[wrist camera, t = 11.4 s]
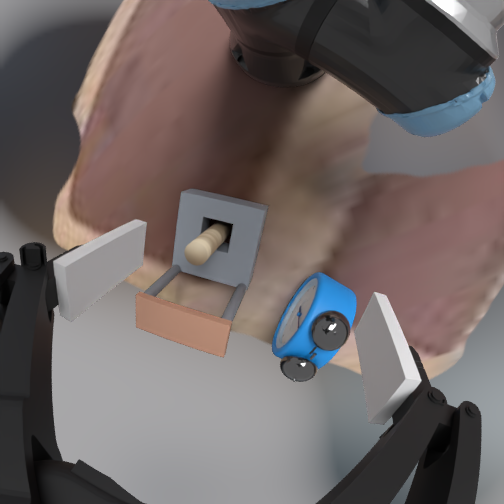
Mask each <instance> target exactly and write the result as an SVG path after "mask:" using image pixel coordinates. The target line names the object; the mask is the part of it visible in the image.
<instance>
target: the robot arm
mask: <svg viewBox="0 0 504 504" xmlns="http://www.w3.org/2000/svg"><path fill="white" fill-rule="evenodd" d="M208 1H210V2H211V4H213V5H214V6H215V8H216V9H217V11H218V12H219V14H220V15H221V16H222V18H223V19H224V21H225V22H226V24H227V25H228V27H229V28H230V30H231V32H230V49H231V52H232V55H233V57H234V59H235V61H236V62H237V64H238V65H239V66H240V68H241V69H242V70H243V71H244V72H245V73H246V74H247V75H248V76H250V77H251V78H253V79H255V80H256V81H258V82H261V83H263V84H266V85H270V86H275V87H295V86H300V85H304V84H307V83H309V82H312V81H314V80H315V79H317V78H319V77H320V76H321V75H322V74H324V73H325V72H326V73H327V74H329V75H331V76H332V77H334V78H335V79H337V80H338V81H340V82H341V83H343V84H344V85H346V86H347V87H349V88H350V89H352V90H353V91H355V92H356V93H357V94H359V95H360V96H362V97H363V98H364V99H366V100H367V101H368V102H370V103H371V104H372V105H374V106H375V107H376V109H377V111H378V112H379V113H381V114H382V115H384V116H386V117H389V118H391V119H392V120H393V121H394V122H396V123H397V124H398V125H399V126H401V127H402V128H403V129H405V130H406V131H407V132H409V133H411V134H413V135H418V136H422V137H432V136H437V135H441V134H444V133H447V132H449V131H451V130H453V129H455V128H457V127H459V126H460V125H462V124H463V123H465V122H466V121H468V120H469V119H470V118H472V117H473V116H474V115H475V114H476V113H478V112H479V110H480V109H481V108H482V103H483V102H485V101H487V100H489V98H490V97H491V95H492V93H493V91H494V87H495V77H494V74H493V71H492V69H491V67H490V65H491V64H492V63H493V62H494V61H495V60H497V58H498V56H499V53H498V45H497V38H496V36H497V30H498V29H499V28H500V27H501V26H502V25H503V24H504V0H208ZM146 225H147V222H144V221H140V220H137V219H135V220H133V221H131V222H129V223H127V224H124V225H122V226H120V227H118V228H116V229H114V230H112V231H110V232H108V233H106V234H104V235H102V236H100V237H98V238H96V239H94V240H92V241H90V242H88V243H86V244H84V245H80V246H76V247H74V248H72V249H70V250H69V251H66V252H64V253H63V254H60V255H59V256H57V257H55V258H53V259H51V260H50V261H48V262H47V258H46V246H45V245H43V244H42V243H37V242H36V243H35V242H33V243H28V244H25V245H23V246H22V247H21V248H20V249H19V250H20V259H21V265H16V264H14V257H13V255H12V254H11V253H8V252H0V504H145V503H142V502H140V501H139V500H138V499H136V498H135V497H134V496H132V495H131V494H130V493H128V492H127V491H126V490H124V489H123V488H122V487H121V486H120V485H118V484H117V483H116V482H115V481H114V480H112V479H111V478H110V477H108V476H106V475H104V474H102V473H101V472H99V471H97V470H95V469H94V468H92V467H91V466H89V465H87V464H86V463H84V462H83V461H81V460H78V461H77V463H76V464H73V463H69V462H65V461H63V460H62V457H61V454H60V451H59V449H58V446H57V442H56V436H55V428H54V418H53V404H52V378H51V377H52V370H51V369H52V366H51V365H52V338H53V323H54V311H53V308H55V307H56V306H57V305H59V311H60V315H61V316H62V317H64V318H65V319H67V320H69V321H71V322H72V321H74V320H75V319H76V318H77V317H78V316H80V315H81V314H82V313H83V312H84V311H86V310H87V309H88V308H89V307H90V306H92V305H93V304H94V303H95V302H97V301H98V300H99V299H100V298H101V297H103V296H104V295H105V294H106V293H108V292H109V291H110V290H111V289H113V288H114V287H115V286H117V285H118V284H119V283H120V282H122V281H123V280H124V279H125V278H127V277H128V276H129V275H131V274H132V273H133V272H134V271H136V270H137V269H138V268H140V267H141V266H142V265H143V255H144V244H145V234H146ZM354 333H355V339H356V344H357V349H358V355H359V360H360V366H361V372H362V378H363V384H364V391H365V398H366V405H367V412H368V421H369V423H373V424H383V425H384V424H385V423H386V422H387V421H388V420H389V419H390V418H391V417H392V418H393V424H392V425H391V426H390V427H389V428H388V429H387V431H385V432H384V433H383V434H382V435H381V436H380V440H379V441H378V442H377V443H376V444H375V445H374V447H373V448H372V449H371V450H370V452H368V453H367V454H366V456H365V457H364V458H363V459H362V460H361V461H360V462H359V463H358V464H357V465H356V466H355V467H354V469H352V470H351V472H350V473H349V474H348V475H347V476H346V477H345V478H343V479H342V480H341V481H340V482H339V483H338V484H337V485H336V486H335V487H334V488H333V489H332V490H331V491H330V492H329V493H328V494H327V495H325V496H324V497H323V498H322V499H321V500H319V501H318V502H317V503H316V504H390V503H391V501H392V500H393V499H394V497H395V496H396V494H397V493H398V492H399V490H400V489H401V487H402V486H403V484H404V483H405V482H406V480H407V479H408V477H409V475H410V474H411V472H412V471H413V469H414V468H415V466H416V464H417V463H418V466H417V469H416V473H415V476H414V479H413V482H412V485H411V488H410V491H409V493H408V496H407V499H406V502H405V504H475V499H476V493H477V486H478V478H479V470H480V455H481V413H480V411H479V409H478V407H477V406H476V405H475V404H473V403H472V402H469V401H464V402H463V403H461V405H460V406H459V407H458V408H456V407H453V406H450V405H448V404H447V400H446V397H445V396H444V394H443V393H442V392H441V391H440V390H438V389H436V388H435V387H431V385H430V382H429V380H428V377H427V374H426V372H425V369H423V368H424V367H423V364H422V363H421V360H420V357H419V355H418V353H417V352H416V351H415V349H414V348H413V347H412V346H408V344H407V342H406V339H405V337H404V334H403V332H402V330H401V327H400V325H399V323H398V321H397V318H396V316H395V314H394V312H393V309H392V307H391V305H390V303H389V301H388V299H387V296H386V295H383V294H380V293H377V292H374V293H373V295H372V297H371V299H370V301H369V304H368V306H367V308H366V310H365V312H364V314H363V316H362V318H361V320H360V321H359V323H358V325H357V327H356V329H355V331H354ZM418 461H419V462H418Z"/></svg>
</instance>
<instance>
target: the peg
mask: <svg viewBox="0 0 504 504" xmlns="http://www.w3.org/2000/svg"><path fill="white" fill-rule="evenodd" d="M232 229H233V228H232V224H231V223H227V222H223V221H219V220H218V221H217V222H216V223H215V224H213V225H212V226H211V227H209V228H208V229H207V230H206V231H204V232H203V233H202V234H201V235H199V236H198V237H197V238H196V239H194V240H193V241H192V242H191V243H189V244H188V245H187V246H186V248H185V251H184V254H185V257H186V259H187V261H188V262H189V263H191V264H192V265H196V266H199V265H202V264H204V263H205V262H206V260H207V259H208V258H209V257H210V256H211V255H212V254H213V253H214V252H215V250H216V249H217V248H218V247H219V246H220V245H221V244H222V243H223V242H224V241H225V240H226V238H227V237H228V236H229V235H230V234H231V233H232Z"/></svg>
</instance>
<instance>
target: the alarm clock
mask: <svg viewBox="0 0 504 504" xmlns="http://www.w3.org/2000/svg"><path fill="white" fill-rule="evenodd" d="M356 305H357V304H356V296H355V294H354V292H353V291H352V290H350V289H349V288H347V287H345V286H344V285H342V284H340V283H338V282H337V281H335V280H333V279H332V278H330V277H328V276H327V275H325V274H323V273H321V272H317V273H314V274H313V275H311V276H310V277H309V278H308V279H307V280H306V281H305V282H304V283H303V284H302V285H301V287H300V288H299V289H298V291H297V292H296V293H295V295H294V296H293V298H292V300H291V301H290V303H289V304H288V306H287V308H286V310H285V312H284V313H283V315H282V317H281V320H280V322H279V324H278V326H277V329H276V331H275V334H274V337H273V341H272V351H273V354H274V355H275V356H277V357H279V358H281V362H280V368H281V371H282V373H283V374H284V375H285V376H286V377H287V378H289V379H291V380H293V381H294V382H295V381H298V382H303V381H308V380H310V379H312V378H313V377H314V376H315V375H316V373H317V370H318V369H319V368H321V367H323V366H324V365H325V364H326V363H328V362H329V361H330V360H331V359H332V358H333V357H334V355H335V354H336V353H337V352H338V350H339V349H340V348H341V347H342V346H343V345H344V344H345V343H346V342H347V340H348V338H349V335H350V329H351V327H352V324H353V321H354V317H355V313H356Z"/></svg>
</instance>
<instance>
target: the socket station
mask: <svg viewBox="0 0 504 504" xmlns="http://www.w3.org/2000/svg"><path fill="white" fill-rule="evenodd" d="M267 211H268V206H267V205H263V204H259V203H255V202H251V201H247V200H242V199H238V198H234V197H229V196H225V195H220V194H216V193H211V192H207V191H202V190H197V189H188V190H185V191H182V192H181V198H180V205H179V212H178V220H177V228H176V236H175V244H174V254H173V263H172V267H171V268H170V269H169V270H168V271H167V272H166V273H165V274H164V275H162V276H161V277H160V278H159V279H158V280H157V281H156V282H155V283H154V284H152V285H151V286H150V287H149V288H148V289H147V290H146V291H145V292H144V293H143V292H139V293H138V294H136V327H137V328H139V329H142V330H144V331H147V332H150V333H152V334H155V335H158V336H160V337H163V338H166V339H169V340H172V341H174V342H177V343H180V344H183V345H186V346H188V347H192V348H195V349H197V350H201V351H204V352H207V353H210V354H213V355H217V356H220V357H224V355H225V353H226V348H227V343H228V339H229V334H230V329H231V325H232V321H233V319H234V317H235V315H236V312H237V310H238V308H239V305H240V303H241V301H242V298H243V296H244V294H245V291H246V290H247V289H248V287H249V284H250V282H251V280H252V276H253V271H254V267H255V263H256V258H257V254H258V250H259V246H260V241H261V237H262V233H263V228H264V224H265V219H266V215H267ZM211 219H215V220H219V221H223V222H227V223H232V224H233V229H232V234H231V239H230V244H228V243H224V242H223V243H222V244H221V245H220V246H219V247H218V248H217V249H216V250H215V252H214V253H213V254H212V255H211V256H210V257H209V258H208V259H207V260H206V262H205V263H204V264H202V265H199V266H196V265H192V264H191V263H189V262H188V261H187V259H186V257H185V254H184V251H185V248H186V246H187V245H188V244H189V243H191V242H192V241H193V240H194V239H196V238H197V237H198V236H199V235H201V234H202V233H203V232H204V231H206V230H207V229H208V228H209V226H210V220H211ZM181 271H182V272H185V273H189V274H192V275H195V276H199V277H202V278H206V279H209V280H213V281H216V282H220V283H223V284H227V285H230V286H234V287H237V288H236V290H235V292H234V294H233V296H232V298H231V299H230V301H229V303H228V305H227V307H226V309H225V311H224V313H223V315H222V317H221V318H220V317H216V316H213V315H210V314H206V313H203V312H200V311H197V310H193V309H190V308H187V307H184V306H181V305H178V304H175V303H172V302H169V301H166V300H163V299H160V298H157V297H155V296H156V295H157V294H158V293H159V292H160V291H161V290H162V289H163V288H164V287H165V286H166V285H167V284H168V283H169V282H170V281H171V280H172V279H173V278H174V277H175V276H176V275H177V274H178V273H180V272H181Z"/></svg>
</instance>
